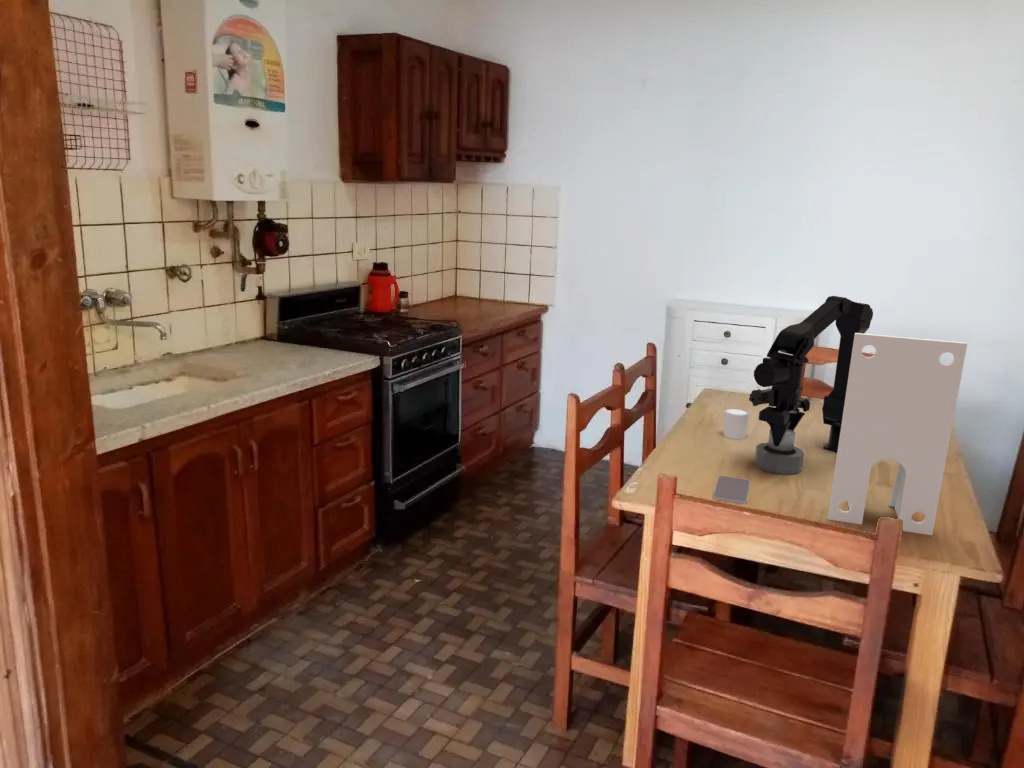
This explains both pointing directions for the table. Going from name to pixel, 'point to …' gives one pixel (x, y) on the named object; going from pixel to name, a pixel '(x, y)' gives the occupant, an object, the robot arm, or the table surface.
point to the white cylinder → (735, 423)
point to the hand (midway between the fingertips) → (780, 442)
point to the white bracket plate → (897, 425)
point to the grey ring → (778, 460)
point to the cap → (783, 441)
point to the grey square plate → (732, 489)
